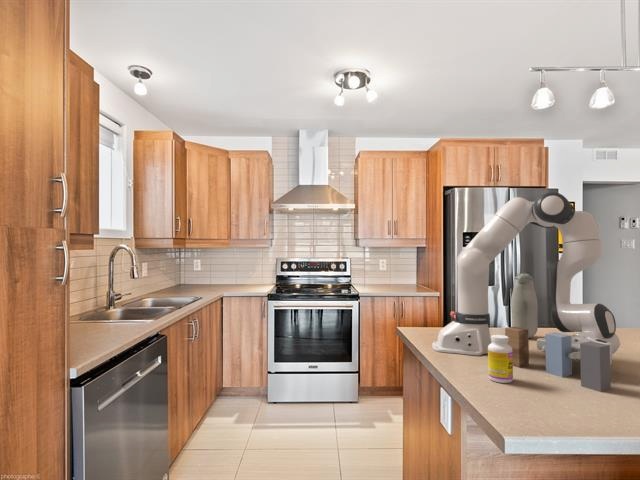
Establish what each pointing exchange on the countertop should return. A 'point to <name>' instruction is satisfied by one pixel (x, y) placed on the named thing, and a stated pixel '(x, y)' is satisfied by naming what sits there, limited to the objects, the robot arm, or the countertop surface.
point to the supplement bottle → (500, 359)
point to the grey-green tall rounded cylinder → (524, 304)
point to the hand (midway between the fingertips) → (556, 352)
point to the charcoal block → (595, 366)
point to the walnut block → (519, 345)
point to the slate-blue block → (558, 354)
